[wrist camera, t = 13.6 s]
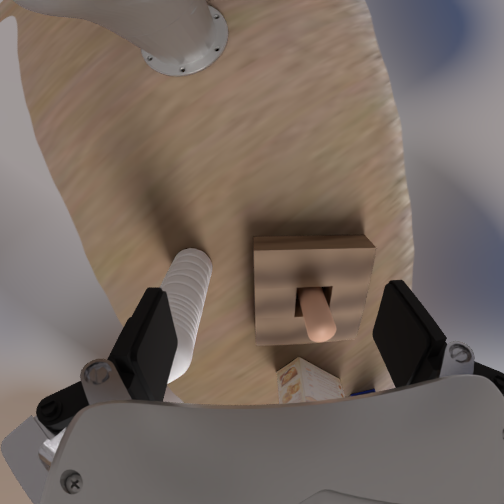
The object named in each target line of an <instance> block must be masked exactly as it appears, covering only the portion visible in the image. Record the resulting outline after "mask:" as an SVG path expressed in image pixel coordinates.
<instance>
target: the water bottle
mask: <svg viewBox="0 0 504 504" xmlns="http://www.w3.org/2000/svg"><path fill="white" fill-rule="evenodd" d="M211 273H212V263H211V260H210V258H209V257H208V256H207V255H206V254H205V253H204V252H203V251H201V250H198V249H195V248H188V249H184V250H182V251H180V252H179V253H178V254H177V255H176V256H175V258H174V260H173V262H172V264H171V266H170V268H169V270H168V272H167V274H166V276H165V278H164V280H163V282H162V284H161V286H160V287H159V288H162V290H163V291H166V293H167V297H168V301H169V306H170V310H171V314H172V319H173V323H174V327H175V331H176V335H177V339H178V346H177V350H176V353H175V357H174V361H173V364H172V368H171V371H170V375H169V379H168V383H170V382H172V381H173V380H175V379H177V378H178V377H180V376H181V375H183V374H184V373H185V372H186V370H187V369H188V367H189V366H190V363H191V360H192V355H193V348H194V345H195V340H196V336H197V331H198V327H199V323H200V318H201V315H202V310H203V306H204V302H205V298H206V293H207V290H208V285H209V281H210V277H211ZM168 383H167V384H168Z"/></svg>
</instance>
